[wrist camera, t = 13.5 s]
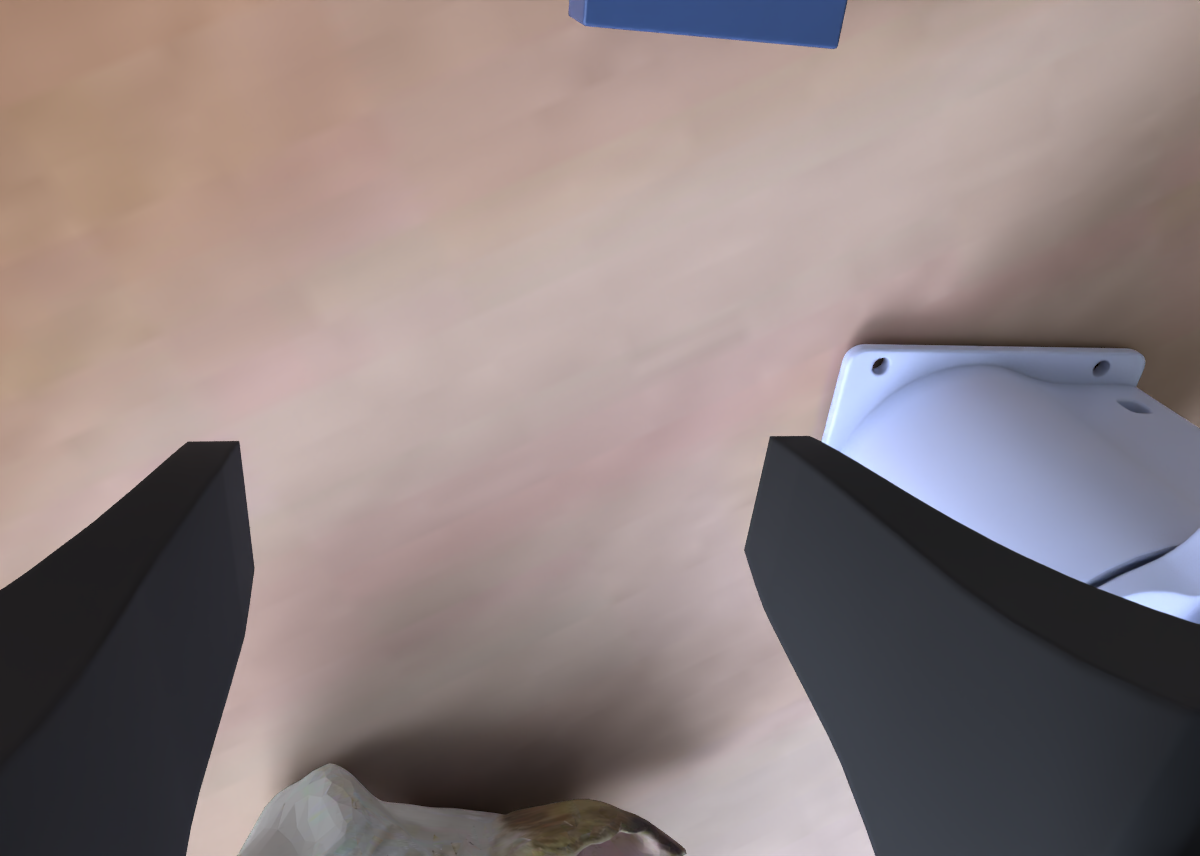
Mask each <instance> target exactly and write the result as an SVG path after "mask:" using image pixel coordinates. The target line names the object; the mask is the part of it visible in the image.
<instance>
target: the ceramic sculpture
mask: <svg viewBox="0 0 1200 856" xmlns="http://www.w3.org/2000/svg"><path fill="white" fill-rule="evenodd" d="M685 854H686V850H685V849H684V848H683V847H682V846H681V845H680V844H679V843H677V842H676V841H675V840H673V839H672V838H671V837H670V836H668V835H667V834H665V833H664V832H663V831H661V830H660V829H658V828H657V827H656V826H654V825H653V824H651V823H650V822H649V821H647V820H645V819H643V818H641V817H639V816H637V815H636V814H633V813H630V812H627V811H624V810H621V809H619V808H617V807H615V806H613V805H610V804H607V803H604V802H600V801H595V800H590V799H573V800H568V801H562V802H557V803H552V804H546V805H541V806H536V807H530V808H525V809H520V810H515V811H513V812H510V813H508V814H506V815H504V814H498V813H490V812H482V811H473V810H465V809H457V808H431V807H424V806H418V805H411V804H401V803H389V802H384V801H380V800H379V799H377V798H376V797H375V796H374V795H372V794H371V793H370V792H369V791H368V790H367V789H366V788H365V787H364V786H363V785H362V784H361V783H360V782H359V781H358V780H357V779H356V778H355V777H354V776H353V775H352V774H351V773H350V772H348V771H347V770H346V769H344V768H342V767H340V766H338V765H335V764H326V765H324V766H322V767H320V768H318V769H315V770H314V771H312V772H311V773H310V774H308V775H307V776H306V777H304V778H303V779H302V780H300V781H298V782H296V783H294V784H292V785H290V786H288V787H287V788H285V789H284V790H282V791H281V792H279V793H278V794H277V795H276V796H275V797H274V798H273V799H272V800H271V801H270V802H269V803H268V804H267V805H266V806H265V808H264V810H263V811H262V813H261V815H260V817H259V818H258V820H257V822H256V824H255V826H254V827H253V829H252V831H251V833H250V834H249V836H248V838H247V840H246V842H245V843H244V845H243V847H242V849H241V850H240V852H239V854H238V855H237V856H683V855H685Z"/></svg>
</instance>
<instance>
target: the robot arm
mask: <svg viewBox="0 0 1200 856" xmlns="http://www.w3.org/2000/svg"><path fill="white" fill-rule="evenodd" d="M883 357H884V361H883V362H882V364H881V365H880V366H879V367H877V368H874V369H872V366H873V364H874V362H875V361H876V360H878V359H879V358H883ZM1099 362H1100V364H1099V365H1098V367H1097V368H1095V369H1094V370H1093V368H1094V367H1095V365H1096V364H1097V363H1099ZM1145 363H1146V362H1145V357H1144V356H1143V355H1142V354H1140V353H1139V352H1137V351H1135V350H1133V349H1129V348H1072V347H1012V346H953V345H894V344H861V345H856V346H854V347H853V348H851V349H850V350H849V351H848V352H847V353H846V354H845V356H844V358H843V360H842V364H841V368H840V372H839V376H838V380H837V383H836V387H835V391H834V395H833V399H832V403H831V407H830V411H829V414H828V418H827V422H826V426H825V430H824V434H823V438H822V441H819V440H817V439H815V438H813V437H810V436H770V439H769V443H768V448H767V452H766V457H765V461H764V465H763V470H762V474H761V479H760V483H759V488H758V492H757V496H756V501H755V505H754V510H753V514H752V518H751V523H750V527H749V532H748V536H747V540H746V545H745V549H744V551H745V554H746V557H747V560H748V563H749V567H750V570H751V573H752V576H753V579H754V583H755V585H756V588H757V591H758V594H759V597H760V599H761V602H762V605H763V608H764V610H765V612H766V614H767V616H768V618H769V620H770V623H771V625H772V627H773V629H774V631H775V633H776V635H777V637H778V639H779V641H780V643H781V645H782V647H783V649H784V651H785V653H786V654H787V656H788V658H789V660H790V662H791V664H792V666H793V668H794V670H795V672H796V674H797V676H798V678H799V680H800V682H801V684H802V686H803V688H804V689H805V691H806V693H807V695H808V697H809V699H810V701H811V703H812V705H813V707H814V709H815V711H816V713H817V715H818V717H819V719H820V721H821V723H822V725H823V726H824V728H825V730H826V732H827V734H828V736H829V738H830V741H831V743H832V745H833V747H834V749H835V752H836V754H837V756H838V758H839V760H840V762H841V765H842V767H843V770H844V772H845V775H846V778H847V780H848V783H849V785H850V788H851V791H852V793H853V796H854V799H855V801H856V804H857V806H858V809H859V812H860V814H861V817H862V819H863V822H864V825H865V827H866V830H867V833H868V836H869V839H870V841H871V844H872V847H873V850H874V853H875V856H1200V428H1198V427H1197V426H1195V425H1194V424H1192V423H1191V422H1189V421H1188V420H1186V419H1185V418H1183V417H1181V416H1180V415H1178V414H1177V413H1175V412H1174V411H1172V410H1171V409H1169V408H1168V407H1166V406H1165V405H1163V404H1161V403H1160V402H1158V401H1157V400H1155V399H1154V398H1152V397H1151V396H1149V395H1148V394H1146V393H1145V392H1143V391H1142V390H1140V389H1138V388H1137V387H1136V386H1137V383H1138V381H1139V379H1140V377H1141V374H1142V372H1143V370H1144V367H1145ZM253 576H254V561H253V553H252V544H251V536H250V527H249V519H248V511H247V502H246V494H245V485H244V477H243V469H242V460H241V452H240V443H239V441H212V442H187V443H186V444H184V445H183V446H182V447H181V448H179V449H178V450H177V451H176V452H175V453H174V454H172V455H171V456H170V457H169V458H168V459H167V460H165V461H164V462H163V463H162V464H161V465H160V466H159V467H158V468H156V469H155V470H154V471H153V472H152V473H151V474H150V475H148V476H147V477H146V478H145V479H144V480H143V481H141V482H140V483H139V484H138V485H137V486H136V487H135V488H133V489H132V490H131V491H130V492H129V493H128V494H126V495H125V496H124V497H123V498H122V499H120V500H119V501H118V502H117V503H116V504H114V505H113V506H112V507H111V508H110V509H108V510H107V511H106V512H105V513H104V514H102V515H101V516H100V517H99V518H98V519H96V520H95V521H94V522H93V523H92V524H90V525H89V526H88V527H86V528H85V529H84V530H82V531H81V532H80V533H78V534H77V535H76V536H74V537H73V538H72V539H70V540H69V541H68V542H66V543H65V544H64V545H62V546H61V547H60V548H58V549H57V550H56V551H54V552H53V553H52V554H50V555H49V556H48V557H46V558H45V559H44V560H43V561H41V562H40V563H39V564H37V565H36V566H35V567H33V568H32V569H31V570H29V571H28V572H26V573H25V574H24V575H22V576H21V577H19V578H18V579H16V580H15V581H13V582H12V583H11V584H9V585H8V586H6V587H4V588H3V589H1V590H0V856H186V852H187V846H188V841H189V835H190V830H191V825H192V821H193V817H194V813H195V808H196V804H197V800H198V796H199V792H200V788H201V785H202V782H203V778H204V775H205V771H206V768H207V764H208V761H209V758H210V754H211V751H212V747H213V744H214V741H215V737H216V734H217V730H218V727H219V724H220V720H221V717H222V713H223V710H224V707H225V703H226V700H227V696H228V693H229V690H230V686H231V683H232V679H233V676H234V672H235V669H236V665H237V662H238V658H239V655H240V651H241V647H242V644H243V640H244V637H245V631H246V624H247V618H248V611H249V605H250V598H251V590H252V583H253Z"/></svg>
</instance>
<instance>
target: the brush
mask: <svg viewBox="0 0 1200 856" xmlns="http://www.w3.org/2000/svg"><path fill="white" fill-rule="evenodd" d="M846 5H847V0H569V16H570V17H572V18H574V19H575V20H577V21H578V22H580V23H581V24H583V25H585V26H591V27H601V28H612V29H623V30H634V31H645V32H656V33H666V34H677V35H688V36H699V37H710V38H721V39H731V40H742V41H753V42H764V43H775V44H786V45H797V46H807V47H818V48H829V49H835V48H837V46H838V42H839V37H840V33H841V28H842V23H843V19H844V14H845V9H846Z"/></svg>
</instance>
